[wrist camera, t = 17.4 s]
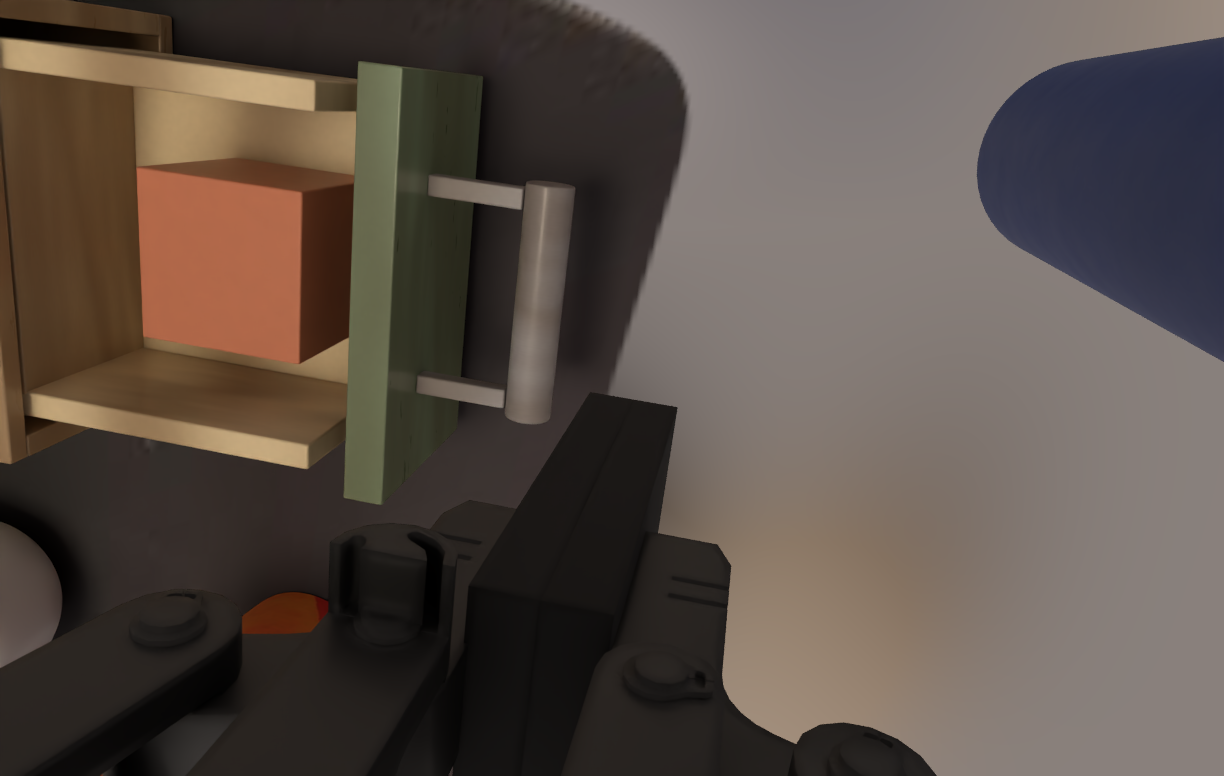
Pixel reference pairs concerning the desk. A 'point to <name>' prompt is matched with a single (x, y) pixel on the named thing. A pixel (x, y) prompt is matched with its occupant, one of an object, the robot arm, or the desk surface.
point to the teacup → (26, 595)
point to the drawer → (380, 267)
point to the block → (246, 256)
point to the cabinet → (22, 9)
